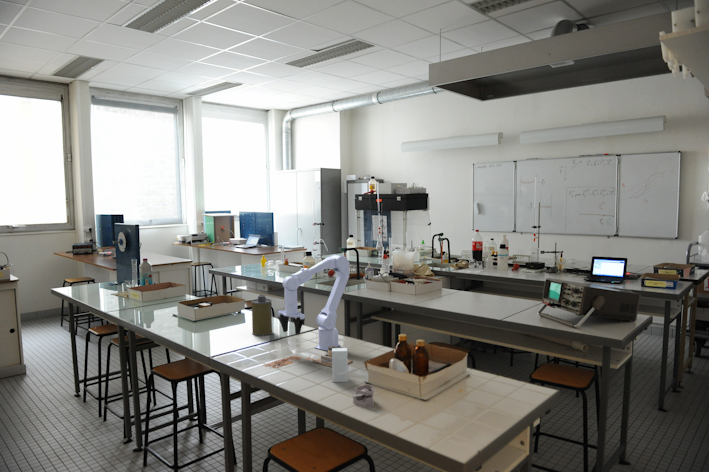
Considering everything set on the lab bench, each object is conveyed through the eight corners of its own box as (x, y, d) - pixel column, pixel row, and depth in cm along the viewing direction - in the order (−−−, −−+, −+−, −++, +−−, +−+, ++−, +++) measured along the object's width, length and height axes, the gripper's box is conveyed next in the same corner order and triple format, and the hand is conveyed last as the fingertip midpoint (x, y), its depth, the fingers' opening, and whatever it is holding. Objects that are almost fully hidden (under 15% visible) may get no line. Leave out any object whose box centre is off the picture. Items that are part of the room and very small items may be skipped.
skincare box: (347, 377, 182) (347, 347, 182) (348, 381, 178) (347, 351, 177) (332, 378, 182) (331, 347, 181) (332, 382, 178) (331, 351, 177)
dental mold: (381, 402, 159) (381, 388, 159) (368, 409, 154) (368, 394, 154) (362, 396, 165) (362, 382, 164) (350, 403, 159) (350, 388, 159)
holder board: (327, 356, 209) (327, 349, 208) (352, 361, 201) (352, 354, 200) (312, 362, 201) (312, 355, 200) (338, 368, 192) (338, 361, 192)
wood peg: (331, 358, 203) (331, 345, 202) (338, 360, 201) (337, 346, 200) (326, 361, 200) (326, 347, 200) (333, 362, 198) (332, 348, 198)
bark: (297, 354, 212) (297, 353, 212) (315, 359, 204) (315, 358, 204) (258, 368, 196) (258, 366, 196) (276, 374, 188) (276, 373, 188)
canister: (270, 336, 242) (269, 297, 240) (250, 336, 242) (249, 297, 241) (274, 330, 253) (273, 293, 251) (255, 330, 253) (254, 293, 251)
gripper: (273, 302, 213) (273, 332, 214) (296, 306, 204) (297, 337, 205) (284, 300, 219) (284, 328, 219) (307, 303, 210) (308, 333, 211)
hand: (291, 332), depth 213 cm, fingers open, 7 cm apart
